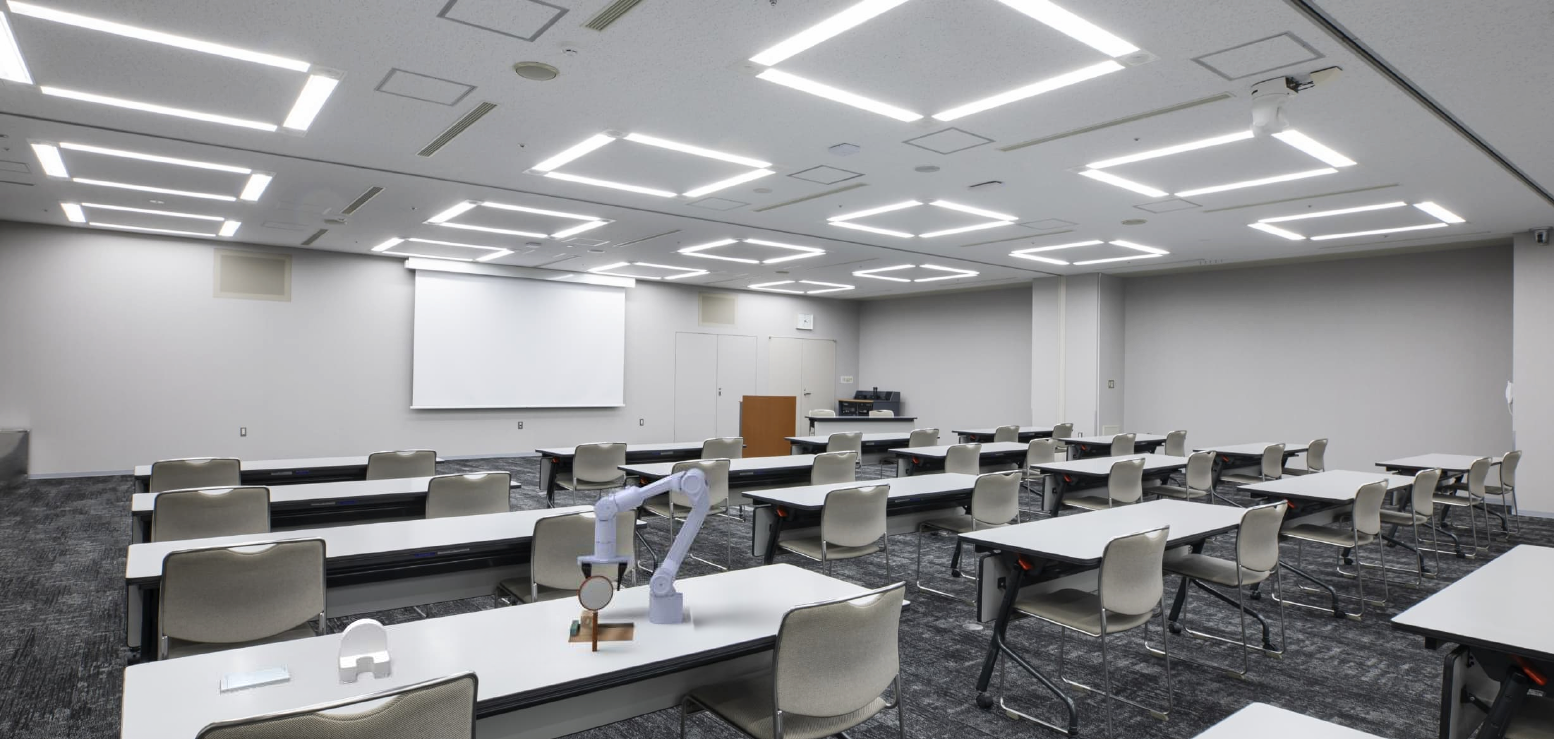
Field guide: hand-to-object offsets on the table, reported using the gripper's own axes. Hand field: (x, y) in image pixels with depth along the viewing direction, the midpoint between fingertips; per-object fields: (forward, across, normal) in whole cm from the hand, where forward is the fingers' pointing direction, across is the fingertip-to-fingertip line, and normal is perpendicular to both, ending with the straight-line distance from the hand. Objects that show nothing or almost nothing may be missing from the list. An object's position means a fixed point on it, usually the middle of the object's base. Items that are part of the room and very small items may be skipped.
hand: (604, 590), depth 212 cm
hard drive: (+10, -73, -32) cm, 80 cm away
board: (+9, 0, -12) cm, 15 cm away
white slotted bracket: (+10, -53, -25) cm, 59 cm away
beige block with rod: (+8, -3, -10) cm, 13 cm away
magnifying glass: (+10, 0, -24) cm, 26 cm away
